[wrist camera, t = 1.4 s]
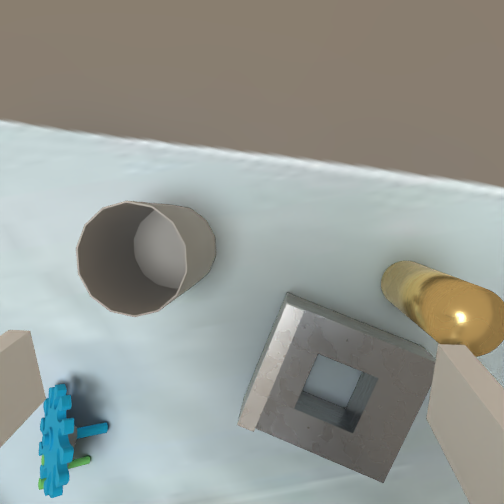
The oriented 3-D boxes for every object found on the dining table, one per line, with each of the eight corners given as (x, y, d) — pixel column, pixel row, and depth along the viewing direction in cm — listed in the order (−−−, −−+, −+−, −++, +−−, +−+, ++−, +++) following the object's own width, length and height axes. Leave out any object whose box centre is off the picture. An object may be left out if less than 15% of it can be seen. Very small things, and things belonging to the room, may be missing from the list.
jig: (423, 346, 33) (444, 367, 29) (372, 452, 35) (385, 488, 31) (286, 292, 34) (286, 304, 30) (243, 398, 36) (237, 424, 31)
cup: (232, 240, 34) (210, 249, 24) (185, 304, 36) (145, 338, 26) (164, 188, 34) (115, 178, 25) (119, 254, 36) (55, 269, 26)
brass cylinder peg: (437, 271, 33) (522, 302, 21) (417, 313, 33) (489, 368, 21) (392, 253, 33) (451, 275, 21) (373, 296, 33) (420, 340, 22)
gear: (47, 364, 36) (62, 445, 29) (106, 359, 40) (132, 430, 33) (27, 443, 39) (35, 535, 32) (83, 432, 43) (102, 511, 36)
